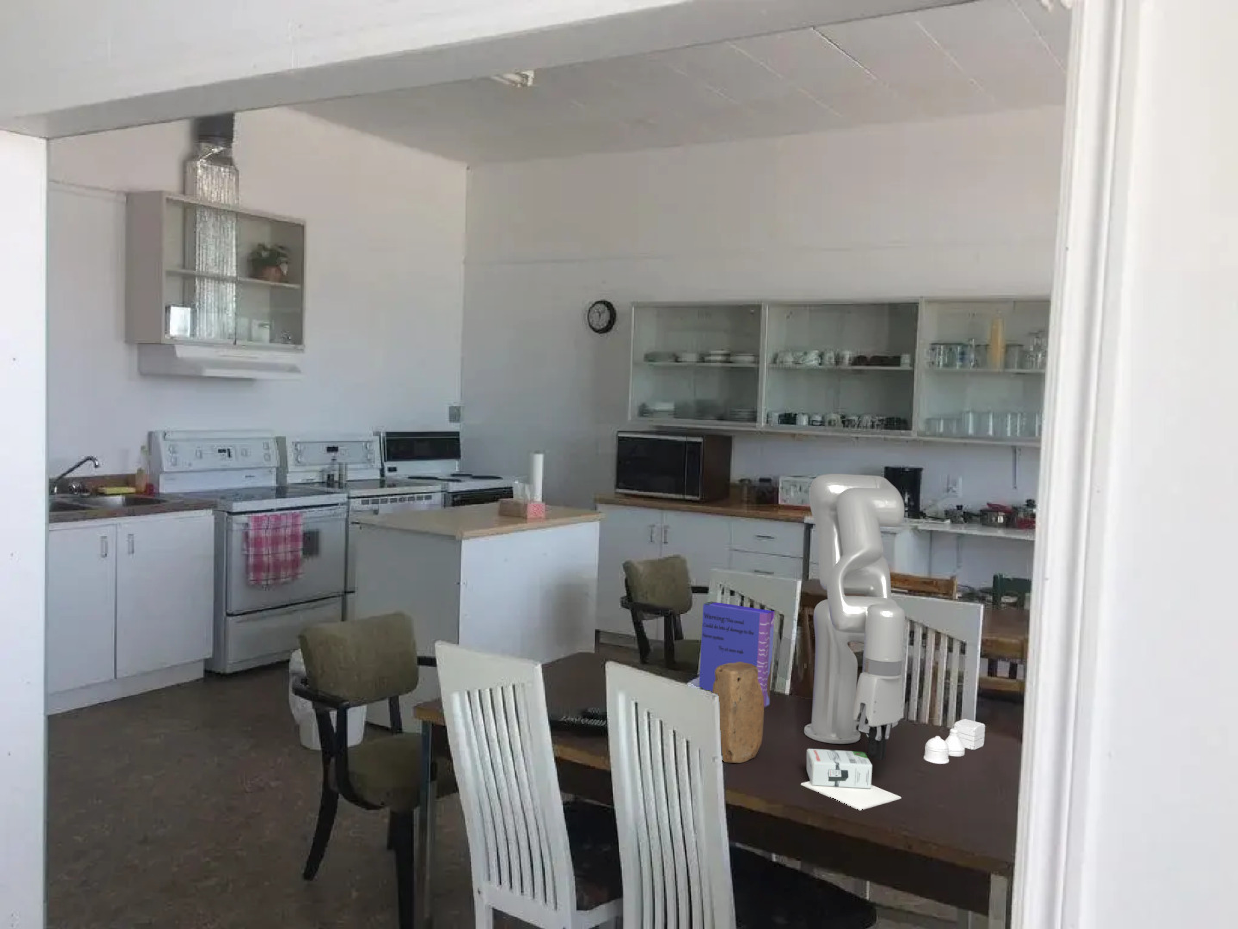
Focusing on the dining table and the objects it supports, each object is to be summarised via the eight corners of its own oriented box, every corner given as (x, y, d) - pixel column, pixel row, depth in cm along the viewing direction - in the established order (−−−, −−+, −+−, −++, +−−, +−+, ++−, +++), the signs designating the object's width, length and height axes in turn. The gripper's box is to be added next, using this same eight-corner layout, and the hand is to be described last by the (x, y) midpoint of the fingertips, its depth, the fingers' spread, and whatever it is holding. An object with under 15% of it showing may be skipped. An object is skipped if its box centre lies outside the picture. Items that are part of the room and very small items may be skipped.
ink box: (863, 774, 215) (805, 770, 216) (865, 751, 215) (806, 747, 215) (871, 790, 206) (810, 786, 207) (872, 765, 206) (811, 761, 207)
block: (727, 767, 216) (732, 671, 215) (704, 756, 223) (709, 663, 221) (766, 758, 223) (771, 665, 221) (742, 748, 229) (747, 657, 228)
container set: (962, 741, 242) (964, 718, 241) (984, 747, 238) (985, 724, 238) (919, 760, 227) (920, 735, 227) (941, 766, 224) (943, 741, 223)
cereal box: (769, 705, 263) (774, 610, 262) (761, 709, 259) (767, 613, 258) (706, 692, 272) (711, 600, 271) (698, 696, 268) (703, 603, 267)
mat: (841, 774, 215) (841, 773, 215) (901, 798, 203) (901, 797, 203) (800, 784, 208) (801, 783, 208) (859, 810, 196) (859, 809, 196)
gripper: (891, 658, 216) (885, 746, 217) (842, 667, 207) (836, 758, 208) (921, 667, 210) (915, 757, 211) (872, 676, 201) (866, 770, 202)
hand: (876, 757), depth 210 cm, fingers closed
